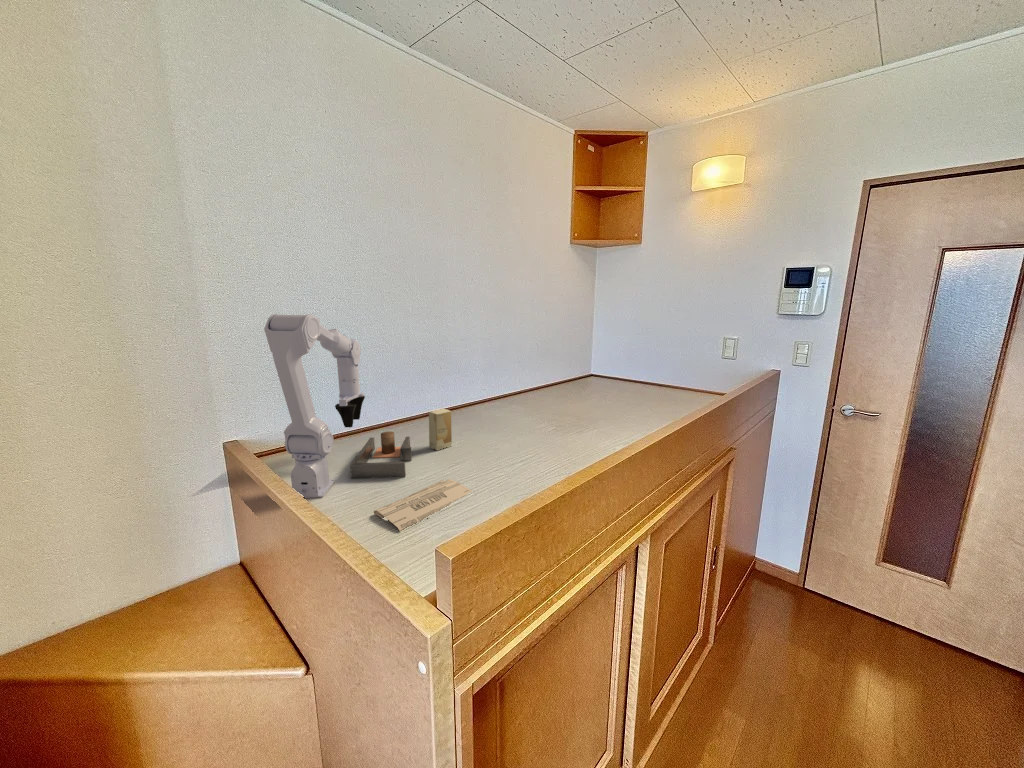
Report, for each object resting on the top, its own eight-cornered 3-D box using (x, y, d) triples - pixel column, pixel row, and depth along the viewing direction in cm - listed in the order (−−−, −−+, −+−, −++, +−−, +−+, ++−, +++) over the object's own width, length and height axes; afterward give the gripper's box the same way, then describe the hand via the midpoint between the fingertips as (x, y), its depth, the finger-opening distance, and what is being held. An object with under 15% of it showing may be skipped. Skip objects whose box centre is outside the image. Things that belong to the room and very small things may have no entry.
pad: (399, 457, 124) (399, 456, 124) (372, 458, 123) (372, 456, 123) (403, 447, 132) (403, 446, 132) (378, 448, 131) (378, 447, 131)
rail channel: (405, 477, 111) (404, 463, 110) (351, 478, 109) (350, 465, 108) (415, 448, 132) (415, 436, 131) (371, 449, 130) (370, 437, 130)
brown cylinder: (393, 453, 126) (392, 435, 124) (380, 454, 125) (379, 435, 124) (396, 449, 130) (395, 431, 128) (383, 449, 129) (382, 431, 128)
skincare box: (437, 451, 129) (435, 414, 127) (428, 447, 132) (427, 411, 129) (452, 446, 134) (451, 410, 131) (444, 442, 137) (443, 407, 134)
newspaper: (444, 482, 109) (445, 474, 108) (475, 502, 101) (476, 493, 100) (366, 514, 92) (366, 505, 92) (396, 541, 85) (396, 530, 84)
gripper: (355, 384, 114) (359, 430, 117) (368, 374, 128) (371, 415, 131) (329, 384, 113) (334, 430, 116) (345, 374, 127) (349, 416, 130)
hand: (352, 423), depth 123 cm, fingers open, 7 cm apart
